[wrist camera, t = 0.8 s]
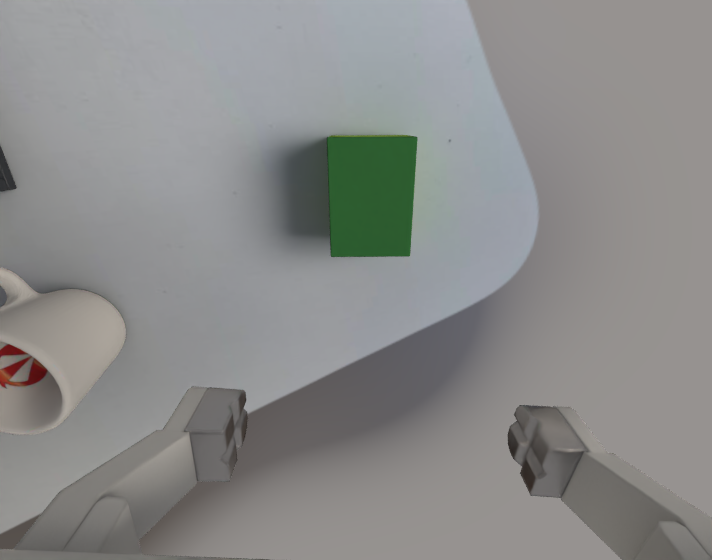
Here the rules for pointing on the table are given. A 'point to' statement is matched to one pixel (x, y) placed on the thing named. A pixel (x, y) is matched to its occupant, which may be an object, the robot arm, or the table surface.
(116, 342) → the cup
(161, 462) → the robot arm
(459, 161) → the table surface
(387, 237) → the sponge
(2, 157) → the tray
